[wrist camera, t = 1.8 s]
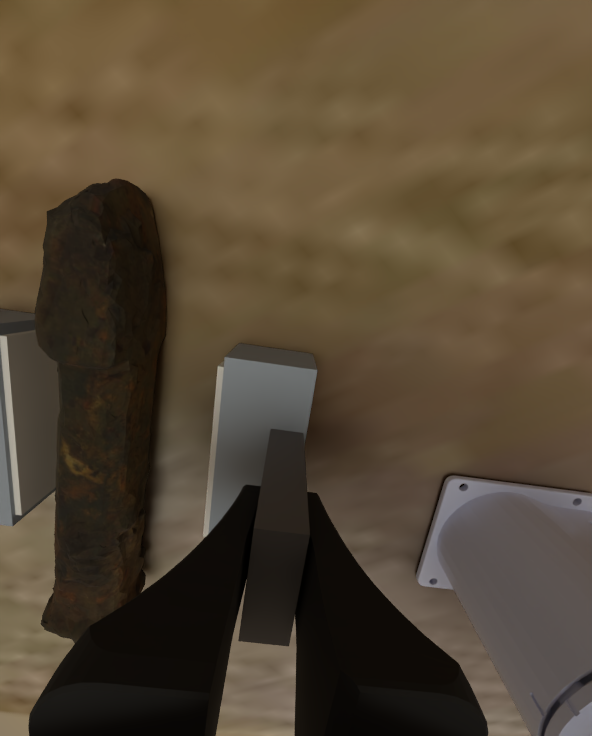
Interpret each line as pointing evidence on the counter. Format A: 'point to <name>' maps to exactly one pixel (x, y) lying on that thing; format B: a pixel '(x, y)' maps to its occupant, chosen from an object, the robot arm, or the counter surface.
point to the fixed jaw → (25, 418)
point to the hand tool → (100, 393)
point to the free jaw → (264, 476)
